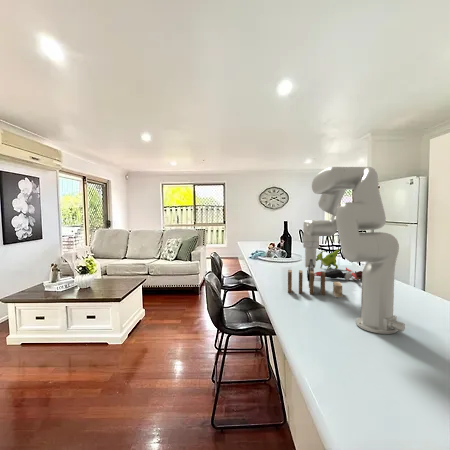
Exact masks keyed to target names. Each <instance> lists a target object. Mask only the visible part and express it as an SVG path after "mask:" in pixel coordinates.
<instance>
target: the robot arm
mask: <svg viewBox="0 0 450 450" xmlns="http://www.w3.org/2000/svg"><path fill="white" fill-rule="evenodd" d="M311 190H312V192H313V193H314V194H317V195H320V198H319V200H318V207H319V208H320V209H321V210H322V211H324V212H325V213H327V214H329V215H331V216H330V217H331V218H330V219H329V220H326V219H325V220H323V219H322V220H321V219H320V220H311V219H307V220H304V222H303V238H302V239H303V242H302V243H303V246H302V247H303V248H304V249H305V250H304V266H305V269H306V268H307V270H306V271H307V272H306V278H307V282H309V281H310V271H313V272H314V273H315V268H316V263H317V261H316V258H317V249H319V246H320V245H319V244H320V241H319V240H320V237H331V236H333V235H335V234H336V233H338V238H339V243H340V248H341V249H340V250H341V252H342V255H343V257H344V258H345V259H346V260H347V261H348V262H352V263H364V262H365V263H366V264H365V266H364V267H363V269H362V271H363V272H362V281H361V298H360V299H361V300H360V301H361V305H360V306H361V309H360V317H358V318H356V319H355V324H356V326H358V327H359V328H360V329H362V330H365V331H367V332H370V333H375V334H380V335H381V334H382V335H392V334H395V333H397V332H403V333H404V331H405V330H406V323H404V322H401V321H398V320H397V316H396V315H394V305H395V303H394V302H395V301H394V300H395V276H396V275H395V272H396V265H397V264H396V263H397V260H398V259H397V258H398V257H399V256H398V255H399V252H400V244H399V241H398V239H397V238H396V237H395V236H394V235H393V234H391V233H388V232H381V231H378V232H377V231H376V232H375V231H374V230H379V229H381V228H383V227H384V226H385V224H386V222H387V221H386V220H387V219H386V218H387V217H386V213H385V209H384V206H383V201H382V198H381V194H380V189H379V176H378V173H377V171H376V169H375V168H373V167H371V166H330V167H328V168H325V169H323V170H322V171H320V172H318V173H317V174H316V175H315V176H314V177H313V179H312V182H311ZM347 190H353V191H352V198H353V202H351V201H350V202H349V201H348V202H344V203H342V204H341V205H340V203H341V201H342V200H343V197H344V195H345V193H346V191H347ZM371 230H373V232H359V231H371ZM309 266H310V267H309Z"/></svg>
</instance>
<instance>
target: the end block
mask: <svg viewBox="0 0 450 450" xmlns="http://www.w3.org/2000/svg"><path fill="white" fill-rule="evenodd" d="M332 293H333V295H334V297H335V298H343V285H342V283H341V282H340V281H333V282H332Z"/></svg>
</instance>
